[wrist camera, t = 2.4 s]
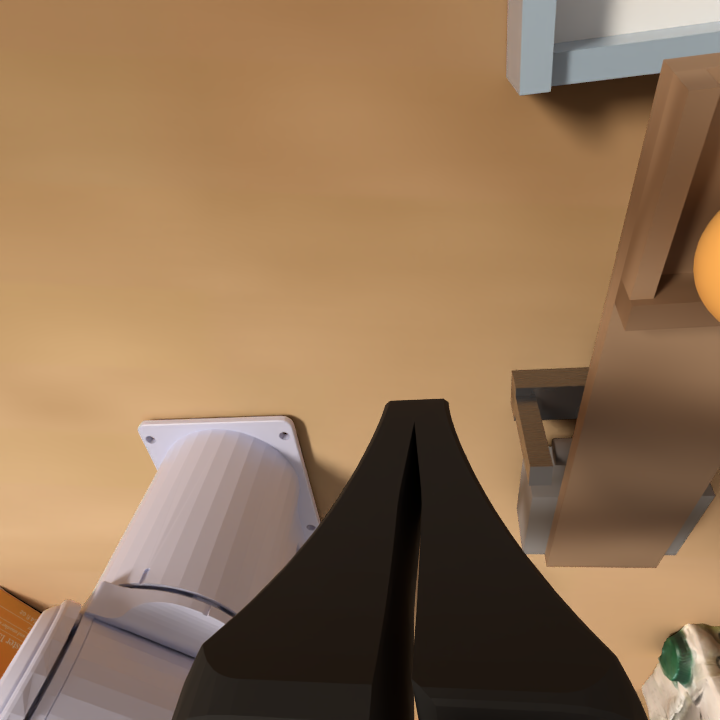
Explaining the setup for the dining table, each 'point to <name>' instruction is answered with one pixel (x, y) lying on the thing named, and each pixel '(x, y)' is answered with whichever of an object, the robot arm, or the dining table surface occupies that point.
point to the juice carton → (686, 676)
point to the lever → (646, 359)
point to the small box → (13, 626)
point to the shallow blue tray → (603, 39)
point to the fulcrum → (543, 412)
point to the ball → (709, 267)
